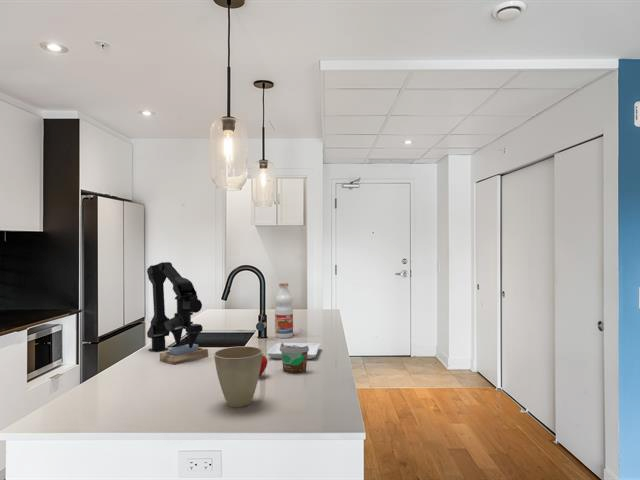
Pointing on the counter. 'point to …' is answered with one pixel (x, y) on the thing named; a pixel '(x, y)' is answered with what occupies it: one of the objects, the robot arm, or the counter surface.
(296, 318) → the counter surface
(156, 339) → the robot arm
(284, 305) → the fruit juice
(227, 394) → the plant pot
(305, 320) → the counter surface
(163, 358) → the wooden tray
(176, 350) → the fuselage block
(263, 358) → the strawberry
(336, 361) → the counter surface
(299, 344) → the salad plate
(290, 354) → the food container
